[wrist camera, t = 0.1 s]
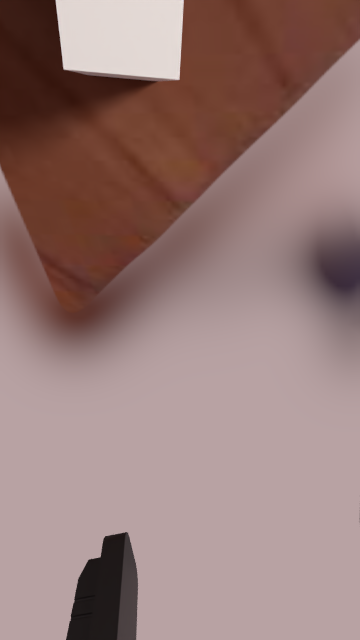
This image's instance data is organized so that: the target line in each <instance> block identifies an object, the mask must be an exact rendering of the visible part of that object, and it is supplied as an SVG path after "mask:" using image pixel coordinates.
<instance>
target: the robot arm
mask: <svg viewBox="0 0 360 640" xmlns="http://www.w3.org/2000/svg"><path fill="white" fill-rule="evenodd" d="M137 595H138V578H137V568H136V563H135V559H134V555H133V551H132V547H131V543H130V538H129V535H128V533H127V532H125V533H121V534H115V535H110V536H105V538H104V540H103V546H102V553H101V557H100V558H95V559H90V560H88V562H87V564H86V566H85V568H84V570H83V571H82V573H81V575H80V577H79V579H78V584H77V589H76V594H75V599H74V600H75V602H74V604H73V609H72V614H71V621H70V623H69V628H68V633H67V638H66V640H136V626H137V625H136V624H137Z"/></svg>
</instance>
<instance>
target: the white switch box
mask: <svg viewBox="0 0 360 640" xmlns="http://www.w3.org/2000/svg"><path fill="white" fill-rule="evenodd" d="M183 2H184V0H56V8H57V16H58V25H59V33H60V42H61V51H62V59H63V68H64V70H68V71H73V72H77V73H81V74H86V75H92V76H103V77H115V78H126V79H137V80H148V81H170V80H179V76H180V58H181V39H182V21H183Z"/></svg>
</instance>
